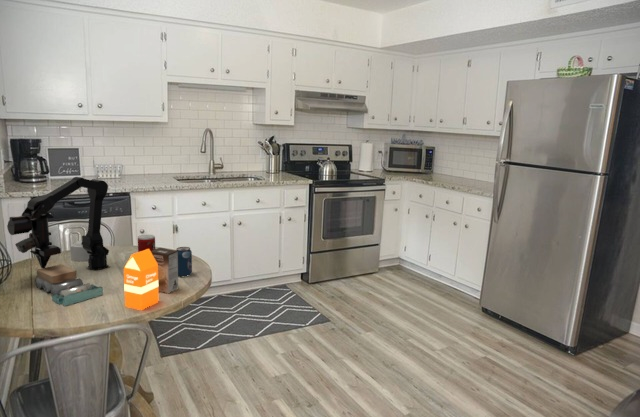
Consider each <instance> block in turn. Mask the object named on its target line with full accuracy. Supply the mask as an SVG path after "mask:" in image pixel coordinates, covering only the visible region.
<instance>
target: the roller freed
mask: <svg viewBox="0 0 640 417" xmlns="http://www.w3.org/2000/svg"><path fill="white" fill-rule="evenodd" d="M91 285H92V284H91V283H88V282H87V283H85V284H84V283H83V285H80V286H77V287H73V288H69V289H66V290H62V291H60V295H59V296H61V297H65V296H69V295H72V294H76V293H79V292H83V291H86V290H90V289H92V286H91Z"/></svg>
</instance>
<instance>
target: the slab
mask: <svg viewBox="0 0 640 417" xmlns="http://www.w3.org/2000/svg"><path fill="white" fill-rule="evenodd" d="M77 277H78V275H77V270H76V269H74V268H71V267H69V266H66V265H63V264H60V263H59V264H56V265H53V266H52V265H51V266H46V267H45V268H39V269H36V278H40V279H42V280H44V281H47V282H49V283H51V284H55V283H59V282H63V281H67V280H71V279H78V278H77Z"/></svg>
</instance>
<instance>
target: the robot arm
mask: <svg viewBox="0 0 640 417" xmlns="http://www.w3.org/2000/svg"><path fill="white" fill-rule="evenodd" d="M80 188H84V189H87V194H88V198H89V200H90V201H89V202H90V203H89V214H88V227H87V228H88V229H87V232H86V234H85V235H82V236H81V241H82V243H81V245H83V248H84V249H85V250H86V251H87V253H88V254H91V255H89V259H88V261H87V262H88V266H87V268H88V269H91V270H94V271H99V270H103V269H105V268H106V269H107V268H110V266H109V265H108V262H107V261H108V259H107V256H108V255H109V252H110V250H109V249H108V248H107V247H106V246H104V239H103V237H102V234H101V226H102V216H103V215H102V211H103V202H104V199H105V198H106V196H107V194H108V191H109V185H108V183H107V182H106V181H105V180H101V179H96V178H93V179H87V178H84V177H80V176H75V177H73V178H72V179H70V180H69V181H67V182H65V183H63V184H62V185H60V186H58V187H57V188H55V189H54V190H52V191H50V192H49V193H46V194H42V195H39V196H37V197H34V198H31V199H29V201H27V204H26V205H27V206H26V208H25V209H24V211H23V212H22V214H21V215H20V216H19V215H18V216H10V217H9V218H8V219H9V220H8V222H7V225H6V227H7V231H8V233H9V235H10V236H15V235H16V236H17V235H22V234H28V233H29V234H28V237H27V238H23V240H20V241H18V242H17V243H15V245H14V246H15V247H16V248H17V250H18V252H19V253H22V254H24V253H27V252H28V251H29V252H30V253H32V254H33V255H34V256H35V257H36V259H37V261H38V263H39V264H38V265H39V266H40V269H42V268H47V264H48V262H49V260H50V258H51V256H56V255H60V254H61V253H62V250H61V247H59V246H57V245H53V242H51V241H50V236H52V232H51V231H49V219H53V218H55V217H54V216H53V215H51V214H50V211H51V210H52V209H53V208H54V206H55V205H56V204H57V203H58V202H60V201H62V199H65V198H66V197H67V196H69V195H71V194H72V193H74V192H76V191H77V190H79V189H80Z"/></svg>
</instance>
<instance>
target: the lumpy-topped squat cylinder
mask: <svg viewBox="0 0 640 417" xmlns="http://www.w3.org/2000/svg"><path fill="white" fill-rule="evenodd" d="M81 243H82V240H77V241H75V242H74V243H72V244H71V245H70V259H71V261H72V262H80V261H81V262H88V259H89V255H91V254H88V253H87V251H86V250H85V249H84V248H83V245H81Z"/></svg>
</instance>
